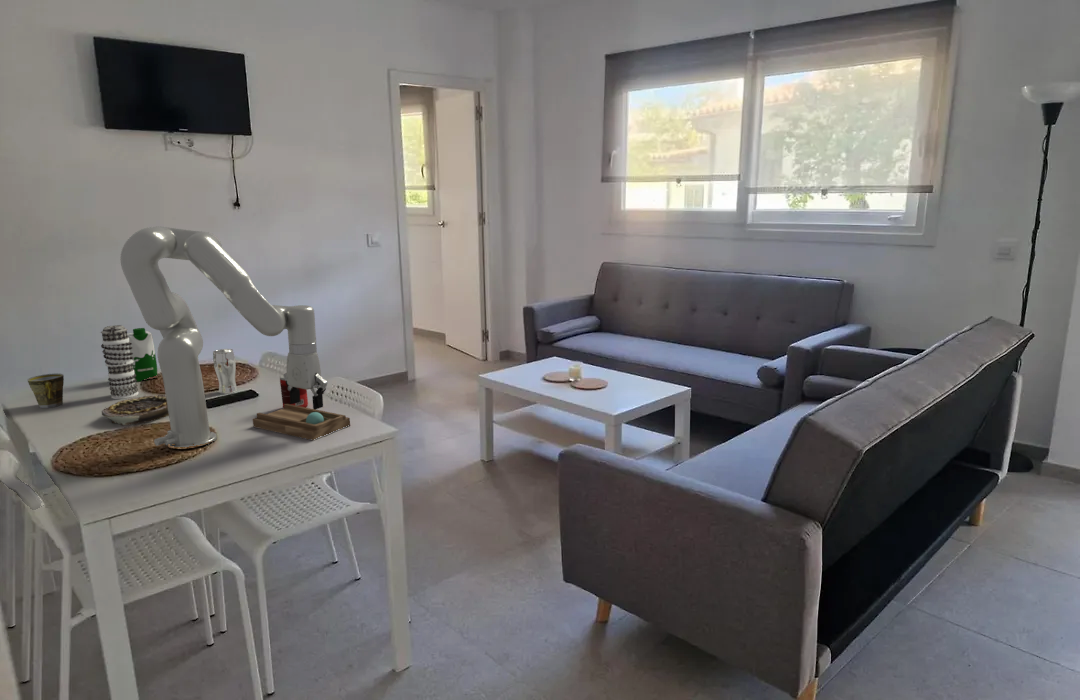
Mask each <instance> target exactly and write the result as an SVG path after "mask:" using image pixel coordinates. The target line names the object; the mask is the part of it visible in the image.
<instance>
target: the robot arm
mask: <svg viewBox="0 0 1080 700" xmlns="http://www.w3.org/2000/svg"><path fill="white" fill-rule="evenodd" d="M222 245H223V244H222V243H221V241H220V239H219V238H218V236H216V235H215V234H213V233H211V232H209V231H202V230H201V231H200V230H190V229H188V230H187V229H182V228H176V227H175V228H174V227H167V226H151V227H150V226H149V227H145V228H141V229H139V230H138V231H136V232H134V233H133V234H132V235H131V236H130V237H129V238H128V239H127V240H126V241H125V243H124V244H123V246H122V247H121V248H122V249H121V252H120V266H121V270H122V273H123V275H124V277H125V280H126V282H127V284H128V285H129V288H130V290H131V293H132V295H133V297H134V299H135V301H136V304H137V306H138V308H139V310H140V312H141V315H142V317H143V319H144V321H145V323H146V324H147V325H148V327H150V328H152V329H154V330H156V331H159V332H160V334H161V337H162V339H161V341H160V343H159V345H158V347H157V352H156V353H157V362H158V364H159V369H160V372H161V376H162V381H163V386H164V392H165V393H164V395H166V400H167V406H168V413H169V416H168V417H169V418H168V419H169V426H170V429H169V430H167V433H166V434H165V435H164V436H163V437H161V436H160V437H158V438H154V440H153V441H154V442H153V443H154V445H155V446H156V447H157V446H160V445H166V446H167V445H168V444H170V446H174V447H189V446H196V445H200V444H205V443H208V442H211V441H214V442H215V441H216V440H217V438H218V437H217V433H216V432H213V431H211V430H210V423H209V417H208V416H209V415H208V410H207V403H206V396H205V388H204V382H203V375H202V370H201V367H200V361H199V355H200V354H201V352H202V350H203V347H204V339H203V336H202V334H201V331H200V328H199V327H198V324H197V323H196V320H195V318H194V317H193V314H192V311H191V309H190V307H189V306H188V303H187V302H186V301H185V299H184V298H183V297H182V296H181V295H179V294H178V293H176V292H173V291H171V290H170V287H169V285H168V283H167V279H166V278H165V276H164V274H163V272H162V271H161V269H160V267H159V262H160V260H161V259H175V260H182V261H190V262H191V264H193V265H194V266H195V268H197V269H198V271H200V272H201V273H202V274H203V275H204V277H206V278H207V279H208V280H209V281H210V282H211V283H212V284H213V285H214V286H215V287H216V288H217V289H218V290H219V291H221V293H222V295H224V297H225V298H226V299H227V300H228V302H229V303H230V304H232V307H234V308H235V309H236V310H237V312H238V313H239V314H240V315H241V316H242V317H243V318H244V319H245V320H246V321H247V322H248V323H249V324H250V325H251V326H252V327H253V328H254V329H255V330H256V331H258V332H259V333H260V334H262V335H264V336H266V337H275V336H279V335H280V334H281V333H283V331H284V330H287V339H288V352H287V356H286V372H285V373H284V375H283V374H282V375H283V376H284V379H285V381H286V382H285V383H286V385H287V386H288V390H289V392H290V403H291V404H295V403H298V402H300V390H299V389H297V388H301V389H306V390H307V391H308V390H311V392H312V394H313V395H312V409H316V410H320V409H322V408H324V399H323V398H324V397H323V396H324V394H325V391H326V389H327V386H328V381H327V380H326V379H325V378H324V377H322V369H321V364H320V358H319V355H318V349H317V333H316V320H315V319H316V318H315V310H314V308H313V306H311V305H292V306H287V305H278V304H277V305H276V304H271V303H270V302H269V301H268V300H267V299H266V298H265V297H264V296H263V295H262V294H261V293H260V291H259V290H258V289H257V287H256V286H255V284H254V283H253V281H252V277H251V276H250V275H249V273H248V272H247V271H246V269H245V268H244V267H243V266H241V265H240V264H239V262H237V261H236V260H235V259H234V258H233V257H232V256H231V254H230V253H228V252H227V251H226V250H225V248H224V247H223V246H222ZM172 444H175V445H172ZM193 444H194V445H193Z"/></svg>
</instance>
